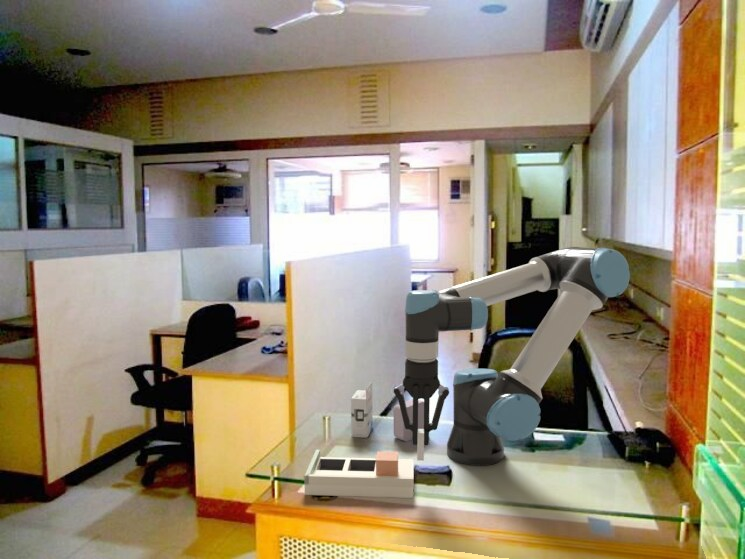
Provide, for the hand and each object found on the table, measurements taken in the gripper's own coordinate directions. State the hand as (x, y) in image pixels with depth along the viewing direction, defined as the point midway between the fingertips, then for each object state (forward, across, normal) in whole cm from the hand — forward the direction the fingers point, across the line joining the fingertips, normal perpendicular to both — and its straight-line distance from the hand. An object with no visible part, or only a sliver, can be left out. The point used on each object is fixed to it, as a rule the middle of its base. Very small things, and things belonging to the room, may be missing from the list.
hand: (420, 457), depth 126 cm
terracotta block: (+5, +8, -1) cm, 9 cm away
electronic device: (+8, +3, -33) cm, 34 cm away
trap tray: (+8, +14, -4) cm, 16 cm away
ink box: (+8, +17, -35) cm, 40 cm away
